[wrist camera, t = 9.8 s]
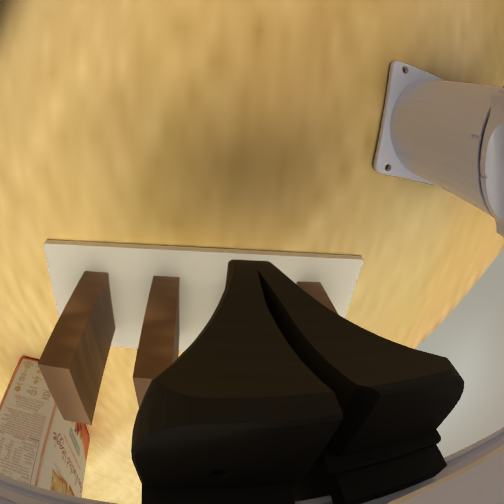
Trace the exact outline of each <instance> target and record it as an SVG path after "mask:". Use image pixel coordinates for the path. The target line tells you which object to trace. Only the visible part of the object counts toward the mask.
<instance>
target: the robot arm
mask: <svg viewBox="0 0 504 504" xmlns="http://www.w3.org/2000/svg"><path fill="white" fill-rule="evenodd" d="M403 67H404V68H405V73H403V71H402V68H403ZM387 164H388V169H387V170H385V166H386V165H387ZM373 167H374V170H375V171H376V172H378V173H381V174H386V175H391V176H396V177H401V178H406V179H410V180H415V181H419V182H424V183H428V184H432V185H437V186H439V187H441V188H443V189H445V190H447V191H449V192H450V193H452V194H454V195H456V196H458V197H460V198H461V199H463V200H465V201H467V202H469V203H470V204H472V205H474V206H476V207H477V208H479V209H481V210H482V211H484V212H486V213H487V214H489V215H491V216H492V217H494V218H495V221H496V226H497V233H498V234H500V235H501V236H503V237H504V87H499V86H492V85H484V84H475V83H466V82H454V81H445V80H443V79H441V78H439V77H437V76H434V75H432V74H430V73H428V72H425V71H423V70H421V69H418V68H416V67H414V66H411V65H409V64H406V63H404V62H401V61H393V62H392V63H391V66H390V73H389V80H388V87H387V94H386V100H385V106H384V112H383V118H382V123H381V129H380V134H379V140H378V145H377V150H376V155H375V160H374V166H373ZM463 389H464V381H463V379H462V378H461V376H460V375H459V373H458V372H457V370H456V369H455V368H454V366H453V365H452V364H451V362H450V361H449V360H448V359H447V358H446V357H441V356H438V355H434V354H430V353H427V352H423V351H419V350H415V349H412V348H409V347H406V346H404V345H401V344H398V343H395V342H392V341H390V340H387V339H385V338H383V337H380V336H378V335H376V334H374V333H372V332H369V331H367V330H365V329H363V328H361V327H359V326H357V325H355V324H353V323H352V322H350V321H348V320H346V319H345V318H343V317H341V316H340V315H338V314H336V313H335V312H333V311H332V310H330V309H329V308H327V307H326V306H324V305H323V304H321V303H320V302H319V301H317V300H316V299H314V298H313V297H312V296H311V295H309V294H308V293H307V292H305V291H304V290H303V289H302V288H300V287H299V286H298V285H297V284H296V283H294V282H293V281H292V280H291V279H290V278H289V277H287V276H286V275H285V274H284V273H283V272H282V271H280V270H279V269H278V268H277V267H276V266H275V265H273V264H272V263H271V262H269V261H255V260H235V259H232V260H230V261H229V262H228V267H227V276H226V286H225V290H224V292H223V295H222V297H221V299H220V301H219V303H218V306H217V308H216V309H215V311H214V313H213V315H212V316H211V318H210V320H209V321H208V323H207V324H206V326H205V327H204V329H203V330H202V331H201V333H200V334H199V335H198V337H197V338H196V339H195V340H194V342H193V343H192V344H191V345H190V346H189V347H188V348H187V349H186V350H185V351H184V352H183V353H182V354H181V355H180V356H179V358H178V359H176V360H175V361H174V362H173V363H172V364H171V365H170V366H168V367H167V368H166V369H165V370H164V371H162V372H161V373H160V374H159V375H158V376H156V377H155V378H154V379H153V380H152V381H151V383H150V385H149V387H148V389H147V391H146V393H145V396H144V398H143V400H142V403H141V405H140V408H139V410H138V413H137V416H136V420H135V424H134V428H133V435H132V449H131V453H132V461H133V463H134V466H135V468H136V471H137V473H138V476H139V478H140V480H141V483H142V504H504V427H503V428H501V429H500V430H498V431H496V432H495V433H493V434H491V435H489V436H488V437H486V438H484V439H482V440H480V441H478V442H476V443H474V444H472V445H470V446H468V447H466V448H464V449H462V450H460V451H458V452H456V453H454V454H452V455H449V456H447V457H445V458H443V456H442V454H441V452H440V451H439V449H438V447H437V445H436V444H437V443H439V442H440V440H441V437H440V435H439V433H438V431H437V430H436V429H437V428H438V426H439V425H440V424H441V423H442V422H443V420H444V419H445V418H446V417H447V416H448V414H449V413H450V412H451V411H452V409H453V408H454V407H455V405H456V404H457V402H458V401H459V399H460V397H461V395H462V392H463ZM0 504H116V503H109V502H103V501H97V500H91V499H86V498H81V497H76V496H72V495H68V494H63V493H59V492H55V491H52V490H48V489H44V488H41V487H37V486H34V485H31V484H27V483H24V482H21V481H18V480H15V479H12V478H10V477H7V476H4V475H2V474H0Z"/></svg>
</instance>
